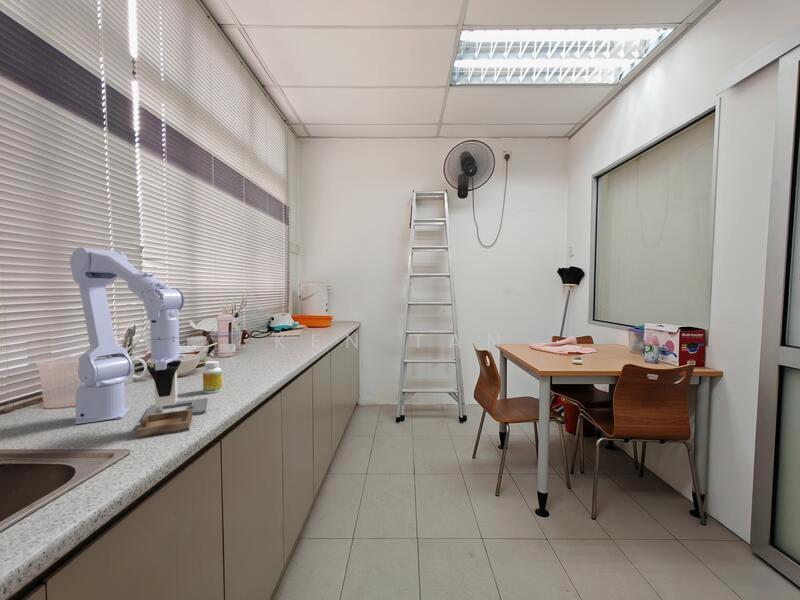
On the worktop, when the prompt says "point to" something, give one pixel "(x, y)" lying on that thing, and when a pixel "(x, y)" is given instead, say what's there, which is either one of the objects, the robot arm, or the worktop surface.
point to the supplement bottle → (212, 377)
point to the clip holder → (196, 405)
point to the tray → (164, 423)
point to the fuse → (167, 399)
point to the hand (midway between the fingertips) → (166, 393)
